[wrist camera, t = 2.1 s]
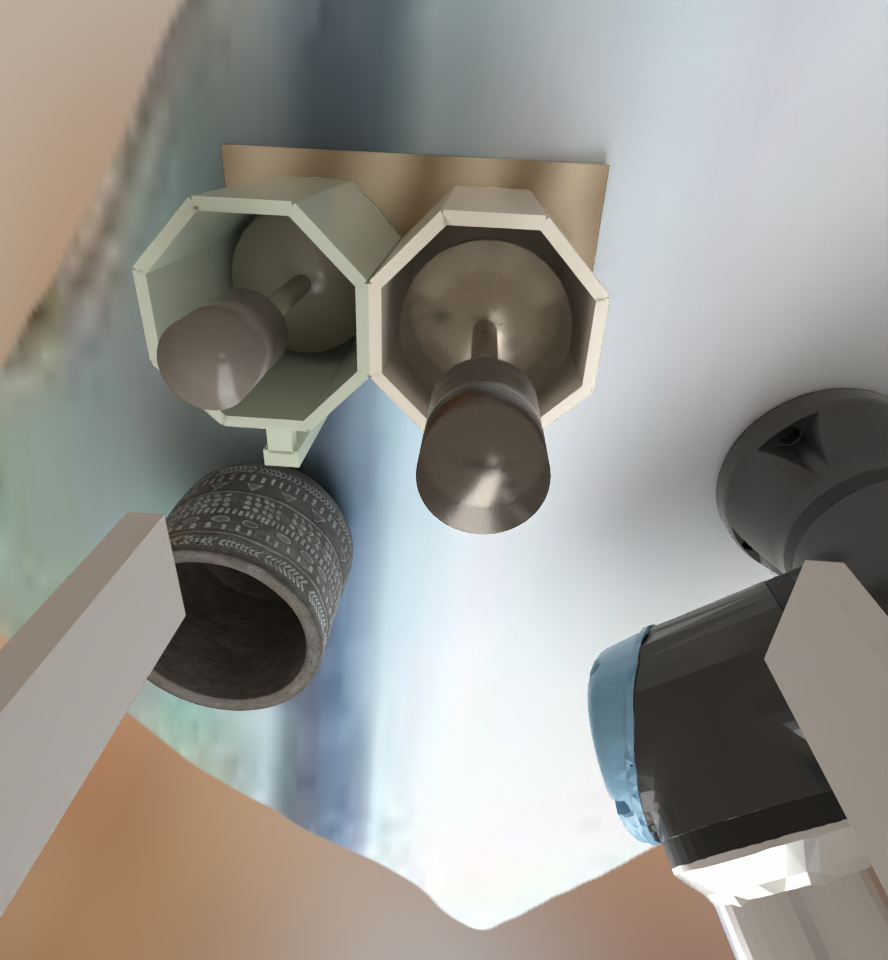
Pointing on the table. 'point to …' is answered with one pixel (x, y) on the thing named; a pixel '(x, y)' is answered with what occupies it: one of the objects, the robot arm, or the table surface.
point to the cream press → (498, 218)
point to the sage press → (265, 303)
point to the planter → (253, 586)
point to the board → (436, 182)
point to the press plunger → (484, 379)
